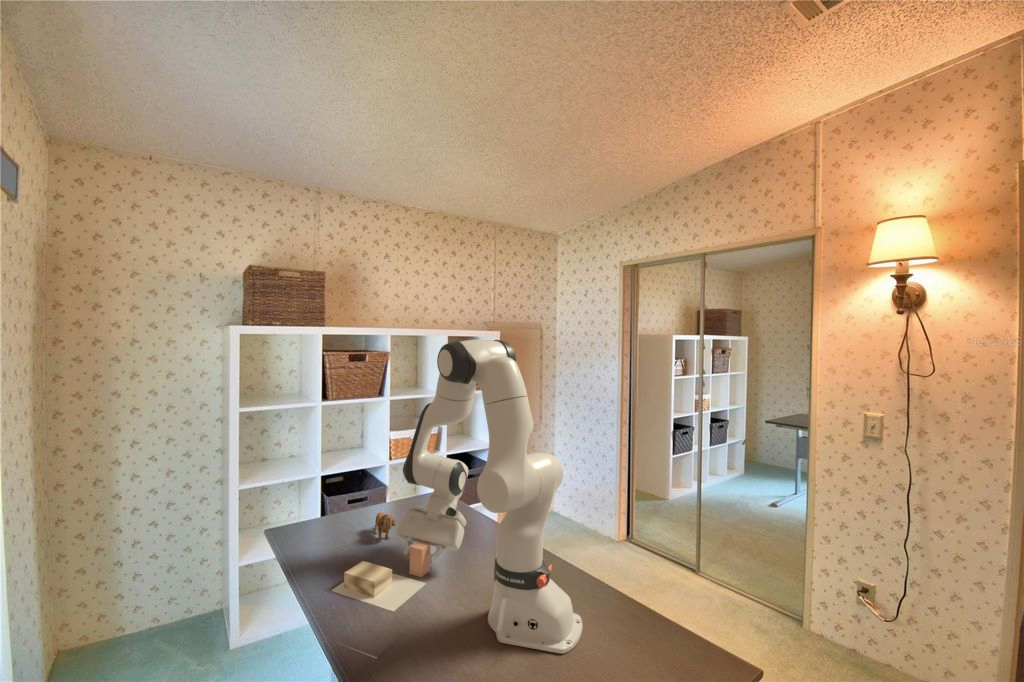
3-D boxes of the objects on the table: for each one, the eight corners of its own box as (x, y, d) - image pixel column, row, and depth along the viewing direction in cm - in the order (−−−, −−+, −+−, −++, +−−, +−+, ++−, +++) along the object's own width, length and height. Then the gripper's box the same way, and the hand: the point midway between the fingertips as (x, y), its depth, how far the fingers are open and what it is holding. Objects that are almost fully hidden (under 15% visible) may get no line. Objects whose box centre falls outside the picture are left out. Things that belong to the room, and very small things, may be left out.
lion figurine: (397, 542, 148) (398, 515, 147) (381, 546, 144) (382, 518, 144) (382, 526, 159) (382, 500, 159) (366, 529, 156) (367, 503, 156)
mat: (426, 584, 124) (426, 583, 124) (393, 612, 111) (393, 611, 111) (367, 567, 132) (367, 566, 132) (330, 591, 119) (330, 590, 119)
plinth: (391, 584, 123) (392, 569, 123) (374, 597, 116) (374, 581, 116) (362, 575, 127) (362, 560, 127) (343, 587, 120) (344, 572, 120)
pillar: (429, 571, 130) (430, 543, 130) (421, 578, 127) (422, 549, 127) (417, 568, 132) (418, 540, 132) (409, 574, 128) (410, 546, 128)
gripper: (405, 501, 140) (384, 546, 131) (464, 513, 131) (445, 562, 123) (414, 510, 144) (393, 554, 135) (471, 523, 136) (453, 571, 127)
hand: (418, 558), depth 129 cm, fingers open, 7 cm apart
